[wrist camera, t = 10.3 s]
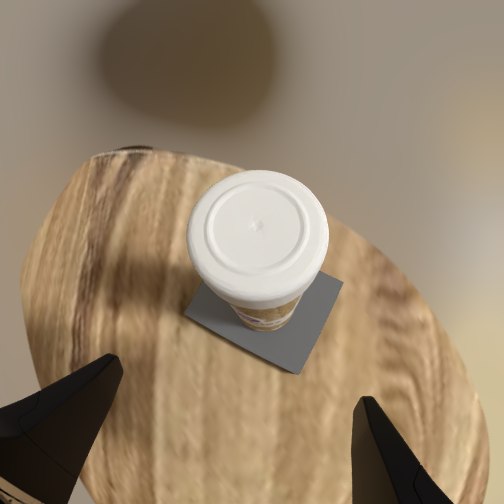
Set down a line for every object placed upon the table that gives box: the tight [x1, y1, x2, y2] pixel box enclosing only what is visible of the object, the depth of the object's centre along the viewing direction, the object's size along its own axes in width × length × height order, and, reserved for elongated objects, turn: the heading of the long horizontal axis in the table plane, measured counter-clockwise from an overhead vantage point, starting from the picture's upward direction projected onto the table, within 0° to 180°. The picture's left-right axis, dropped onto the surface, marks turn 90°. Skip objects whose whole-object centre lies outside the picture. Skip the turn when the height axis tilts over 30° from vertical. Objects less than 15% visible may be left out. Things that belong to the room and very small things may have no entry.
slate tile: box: [184, 271, 343, 375], centre depth 21 cm, size 8×10×1 cm
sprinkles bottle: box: [186, 170, 329, 332], centre depth 15 cm, size 5×5×14 cm
